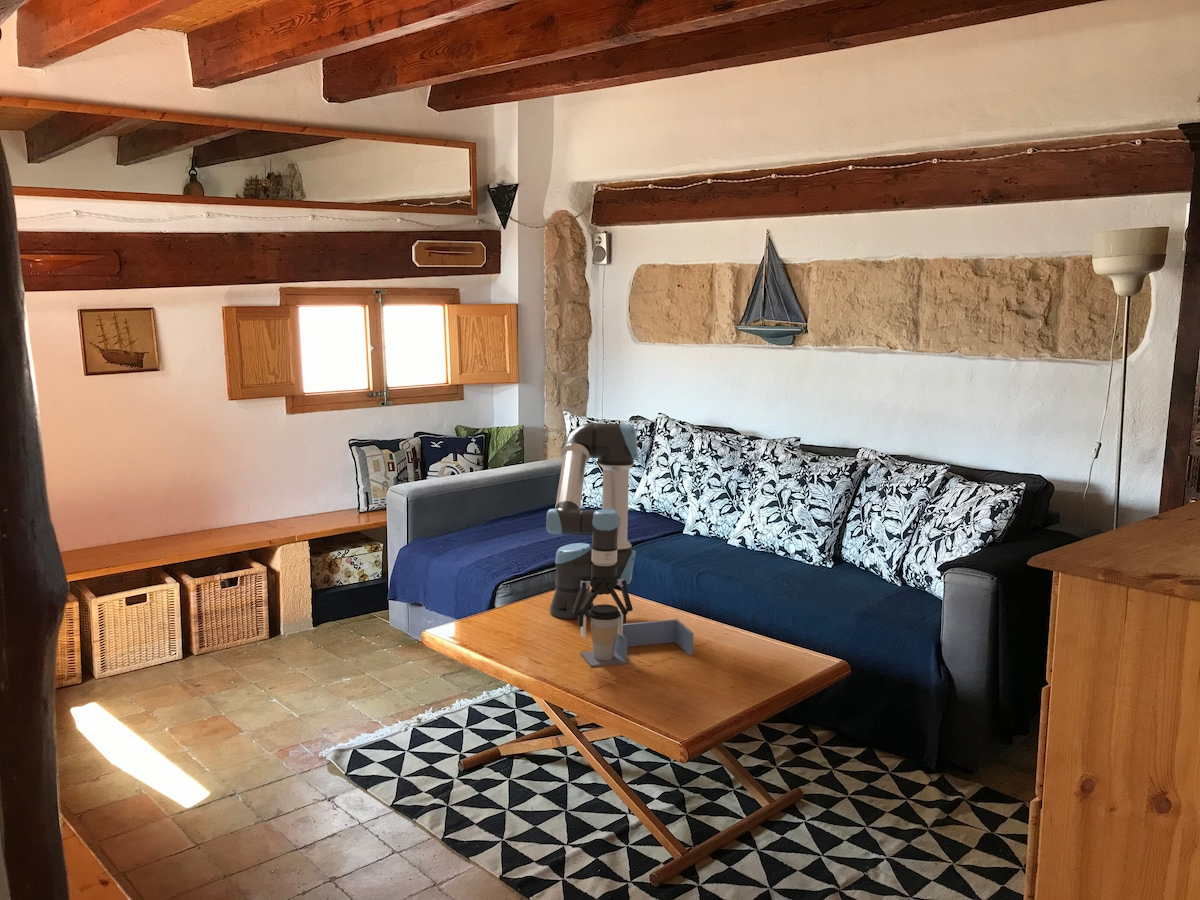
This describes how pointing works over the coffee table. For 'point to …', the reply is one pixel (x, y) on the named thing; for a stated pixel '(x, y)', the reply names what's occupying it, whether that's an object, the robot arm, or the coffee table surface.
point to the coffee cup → (604, 630)
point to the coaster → (596, 663)
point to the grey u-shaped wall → (654, 635)
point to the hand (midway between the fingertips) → (601, 635)
